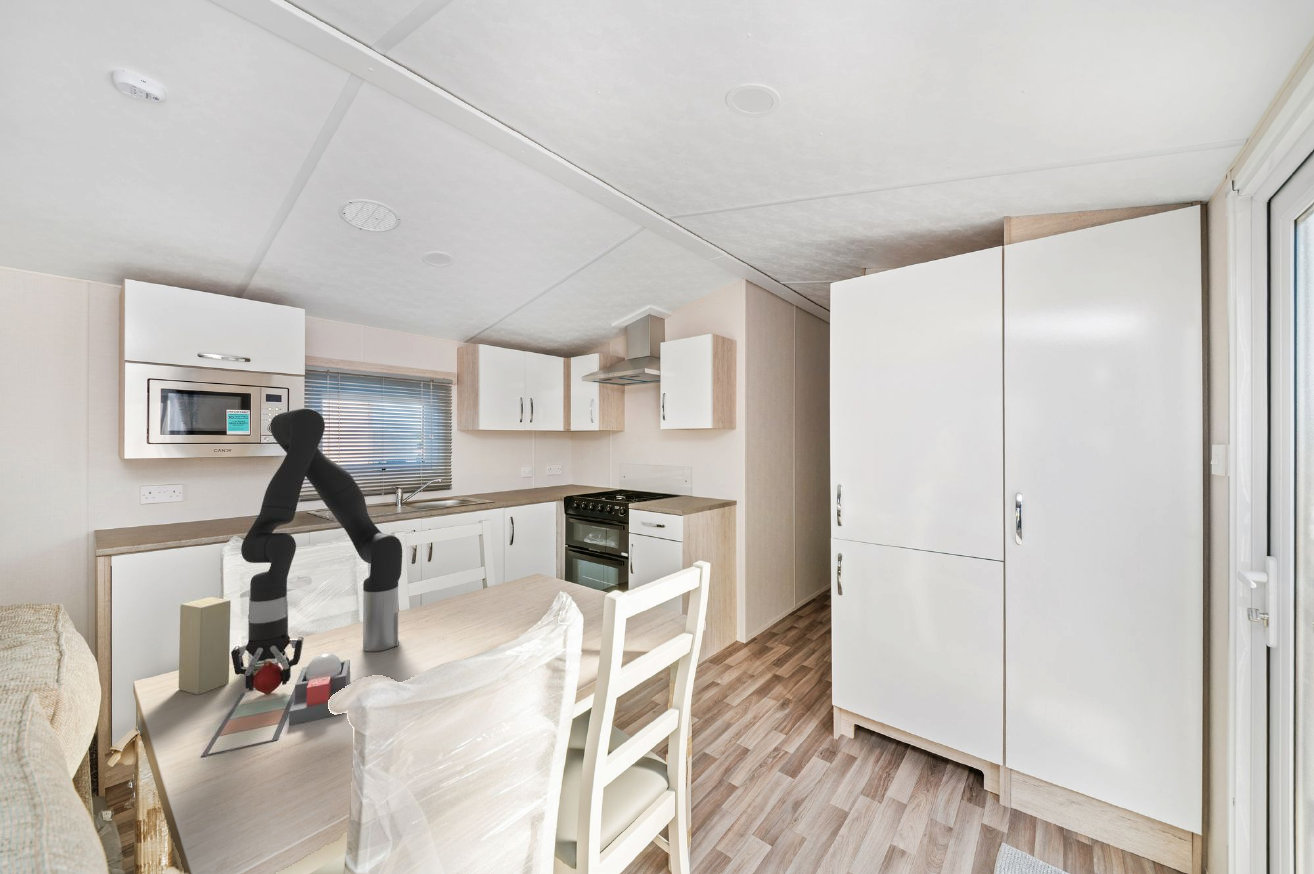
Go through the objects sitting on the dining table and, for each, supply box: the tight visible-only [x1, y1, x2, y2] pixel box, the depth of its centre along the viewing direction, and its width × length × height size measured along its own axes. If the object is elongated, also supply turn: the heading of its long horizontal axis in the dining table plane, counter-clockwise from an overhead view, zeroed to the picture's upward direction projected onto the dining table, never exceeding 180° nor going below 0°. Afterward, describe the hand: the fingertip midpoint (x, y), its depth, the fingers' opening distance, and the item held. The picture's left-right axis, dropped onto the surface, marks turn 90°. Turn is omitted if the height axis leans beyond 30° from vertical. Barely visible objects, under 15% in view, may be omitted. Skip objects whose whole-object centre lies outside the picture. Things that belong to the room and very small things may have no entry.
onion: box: [253, 661, 283, 695], centre depth 121 cm, size 6×6×8 cm
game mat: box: [200, 683, 296, 758], centre depth 112 cm, size 12×27×1 cm, turn 27°
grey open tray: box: [288, 659, 351, 726], centre depth 117 cm, size 10×16×6 cm, turn 27°
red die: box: [307, 676, 331, 706], centre depth 113 cm, size 4×4×4 cm
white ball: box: [306, 652, 342, 681], centre depth 120 cm, size 7×7×7 cm
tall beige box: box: [178, 596, 231, 695], centre depth 125 cm, size 8×7×21 cm
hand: (268, 685), depth 121 cm, fingers closed on onion, 6 cm apart
